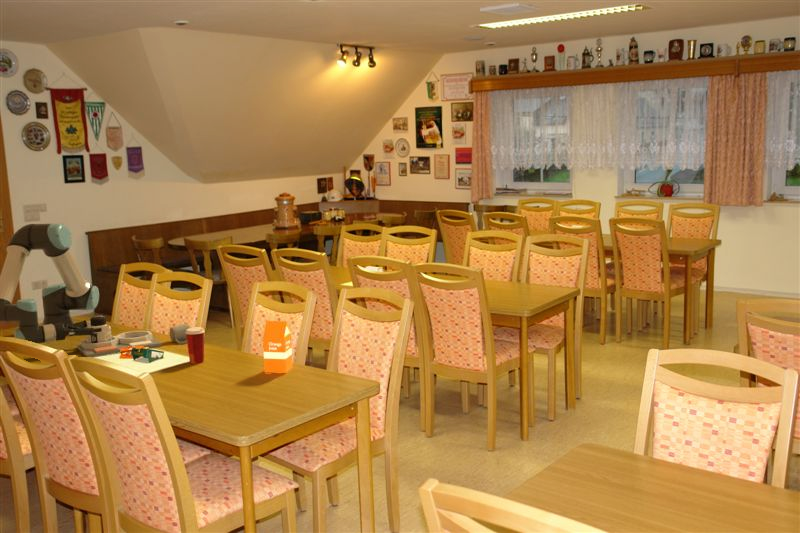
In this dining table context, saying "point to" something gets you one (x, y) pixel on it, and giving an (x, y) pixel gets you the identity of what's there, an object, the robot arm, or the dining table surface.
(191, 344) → the paper cup
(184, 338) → the ceramic mug
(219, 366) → the dining table surface
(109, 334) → the container
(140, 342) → the ring board
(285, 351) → the orange juice
